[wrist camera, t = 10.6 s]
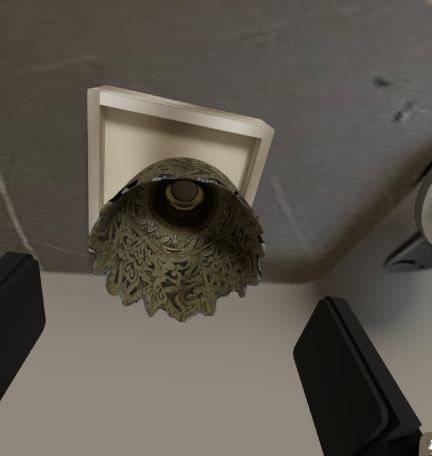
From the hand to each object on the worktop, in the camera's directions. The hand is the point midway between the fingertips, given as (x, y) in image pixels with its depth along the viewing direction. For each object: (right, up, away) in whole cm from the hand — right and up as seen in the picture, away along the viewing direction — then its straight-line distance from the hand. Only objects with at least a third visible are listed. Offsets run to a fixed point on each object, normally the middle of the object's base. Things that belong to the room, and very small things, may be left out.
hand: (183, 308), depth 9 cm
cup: (-1, +5, +9) cm, 11 cm away
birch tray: (-2, +7, +11) cm, 13 cm away
